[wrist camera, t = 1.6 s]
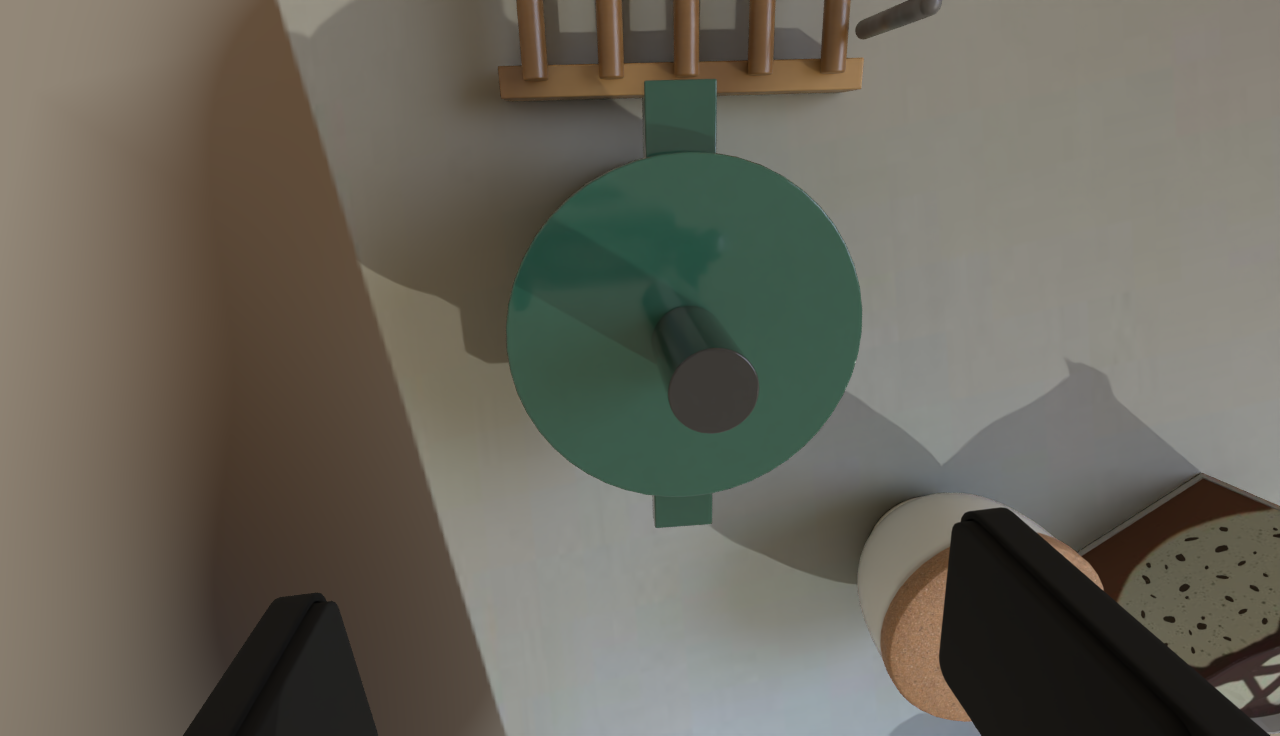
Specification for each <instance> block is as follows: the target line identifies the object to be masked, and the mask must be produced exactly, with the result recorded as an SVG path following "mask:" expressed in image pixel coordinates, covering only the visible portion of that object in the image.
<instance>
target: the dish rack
mask: <svg viewBox="0 0 1280 736" xmlns="http://www.w3.org/2000/svg"><path fill="white" fill-rule="evenodd" d="M775 1H776V0H749V39H748V60H743V61H700V62H699V0H673V22H674V62H657V63H624V53H623V24H622V0H596V20H597V42H598V63H599V64H571V65H548V64H547V50H546V37H545V23H544V9H543V0H516V3H517V15H518V26H519V38H520V50H521V62H522V66H499V67H498V75H499V85H500V95H501V98H502V99H504V100H506V101H541V100H578V99H615V98H642V83H643V82H644V81H645V80H681V79H717V96H726V95H763V94H800V93H837V92H847V91H853V90H858V89H861V86H862V74H863V62H864V58H846V56H847V43H848V29H849V16H850V2H851V0H824V13H823V29H822V45H821V59H786V60H773V53H774V27H775ZM941 4H942V0H908V1H906V2H903V3H901V4H899V5H896V6H894V7H892V8H889V9H887V10H885V11H882V12H880V13H878V14H875V15H873V16H871V17H868V18H866V19H864V20H862V21H860V22H859V23H858V24H857V26H856V29H855V32H856V35H857V37H858V38H860V39H867V38H870V37H873V36H876V35H879V34H881V33H884V32H887V31H890V30H893V29H896V28H898V27H901V26H904V25H907V24H910V23H912V22H915V21H918V20H921V19H924V18H927V17H929V16H932V15H934V14H936V13H937V12H938V10H939V9H940V7H941Z"/></svg>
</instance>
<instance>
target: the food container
mask: <svg viewBox="0 0 1280 736" xmlns="http://www.w3.org/2000/svg"><path fill="white" fill-rule="evenodd" d="M1077 553H1078V554H1079V555H1080V556H1081V557H1083V558H1084V559H1085V560H1086V561H1087V562H1088V563H1089V564H1090V565H1091V566H1092V567H1093V569H1094V570H1095V571H1096V573H1097V574H1098V576H1099V578H1100V581H1101V583H1102V585H1103V589H1104V592H1106V593H1107V594H1108V595H1109V596H1110V597H1111V598H1112V599H1114V600H1115V601H1116V602H1117V603H1118V604H1119V605H1121V606H1122V607H1123V608H1124V609H1125V610H1126V611H1127V612H1129V613H1130V614H1131V615H1132V616H1133V617H1134V618H1136V619H1137V620H1138V621H1139V622H1140V623H1141V624H1142V625H1144V626H1145V627H1146V628H1147V629H1148V630H1149V631H1150V632H1152V633H1153V634H1154V635H1155V636H1156V637H1157V638H1159V639H1160V640H1161V641H1162V642H1163V643H1164V644H1165V645H1167V646H1168V647H1169V648H1170V649H1171V650H1172V651H1174V652H1175V653H1176V654H1177V655H1178V656H1179V657H1180V658H1182V659H1183V660H1184V661H1185V662H1186V663H1187V664H1188V665H1190V666H1191V667H1192V668H1193V669H1194V670H1195V671H1197V672H1198V673H1199V674H1200V675H1201V676H1202V677H1203V678H1205V679H1206V680H1207V681H1208V682H1209V683H1210V684H1212V685H1213V686H1214V687H1215V688H1216V689H1217V690H1218V691H1220V692H1221V693H1222V694H1223V695H1224V696H1225V697H1227V698H1228V699H1229V700H1230V701H1231V702H1232V703H1233V704H1235V705H1236V706H1237V707H1238V708H1239V709H1240V710H1241V711H1243V712H1244V713H1245V714H1246V715H1247V716H1248V717H1250V718H1251V719H1252V720H1253V721H1254V722H1255V723H1256V724H1258V725H1259V726H1260V727H1261V728H1262V729H1263V730H1265V731H1266V732H1267V733H1268V734H1275V733H1280V506H1278V505H1276V504H1274V503H1271V502H1269V501H1267V500H1264V499H1262V498H1260V497H1257V496H1255V495H1253V494H1250V493H1248V492H1246V491H1243V490H1241V489H1239V488H1236V487H1234V486H1232V485H1229V484H1227V483H1225V482H1222V481H1220V480H1218V479H1215V478H1213V477H1211V476H1208V475H1206V474H1204V473H1201V474H1199V475H1198V476H1196V477H1195V478H1193V479H1192V480H1190V481H1188V482H1187V483H1185V484H1184V485H1182V486H1181V487H1179V488H1178V489H1176V490H1174V491H1173V492H1171V493H1170V494H1168V495H1167V496H1165V497H1163V498H1162V499H1160V500H1159V501H1157V502H1156V503H1154V504H1152V505H1151V506H1149V507H1148V508H1146V509H1145V510H1143V511H1142V512H1140V513H1138V514H1137V515H1135V516H1134V517H1132V518H1131V519H1129V520H1127V521H1126V522H1124V523H1123V524H1121V525H1120V526H1118V527H1117V528H1115V529H1113V530H1112V531H1110V532H1109V533H1107V534H1106V535H1104V536H1102V537H1101V538H1099V539H1098V540H1096V541H1095V542H1093V543H1091V544H1090V545H1088V546H1087V547H1085V548H1084V549H1082V550H1081V551H1079V552H1077Z"/></svg>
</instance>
